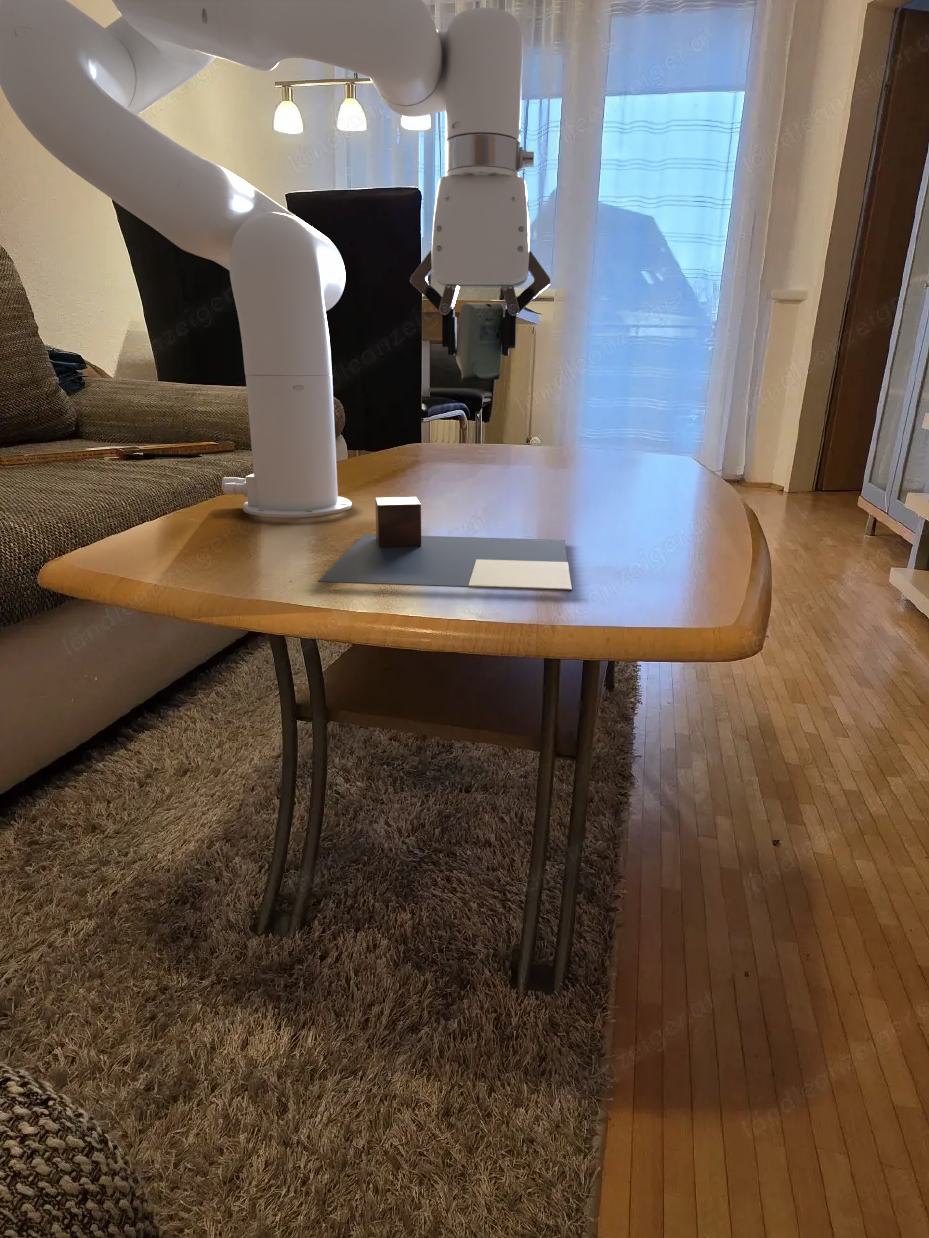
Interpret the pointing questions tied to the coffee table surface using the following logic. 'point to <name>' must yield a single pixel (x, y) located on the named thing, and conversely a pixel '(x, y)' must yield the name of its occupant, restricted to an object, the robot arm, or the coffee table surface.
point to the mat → (457, 563)
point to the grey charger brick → (480, 341)
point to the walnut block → (398, 521)
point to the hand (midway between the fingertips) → (478, 353)
